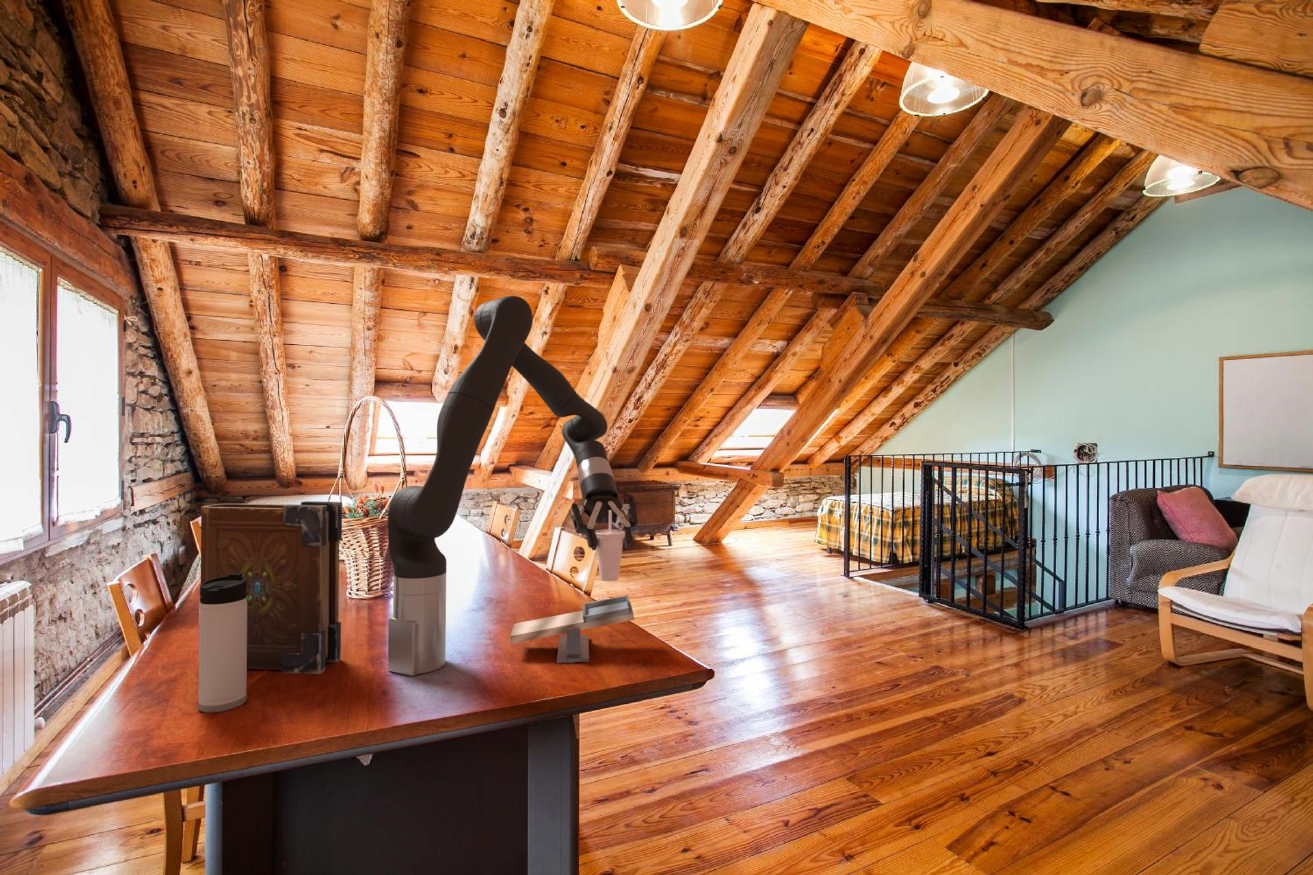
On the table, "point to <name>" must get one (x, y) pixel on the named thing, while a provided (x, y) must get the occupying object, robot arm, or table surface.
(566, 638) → the pivot stand
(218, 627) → the travel mug
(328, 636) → the decorative book
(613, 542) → the smoothie
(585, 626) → the balance beam
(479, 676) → the table surface
